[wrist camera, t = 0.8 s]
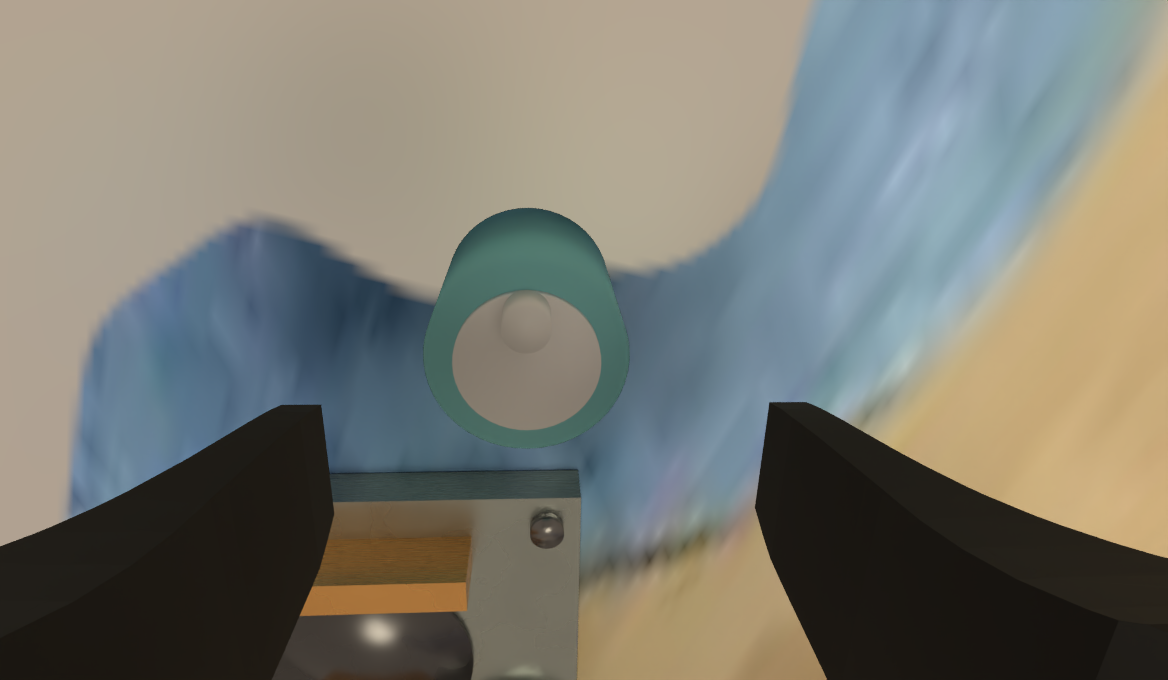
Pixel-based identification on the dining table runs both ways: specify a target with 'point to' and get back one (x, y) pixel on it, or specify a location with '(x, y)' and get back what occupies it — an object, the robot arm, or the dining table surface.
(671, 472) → the dining table surface
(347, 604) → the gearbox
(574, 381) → the spout can
